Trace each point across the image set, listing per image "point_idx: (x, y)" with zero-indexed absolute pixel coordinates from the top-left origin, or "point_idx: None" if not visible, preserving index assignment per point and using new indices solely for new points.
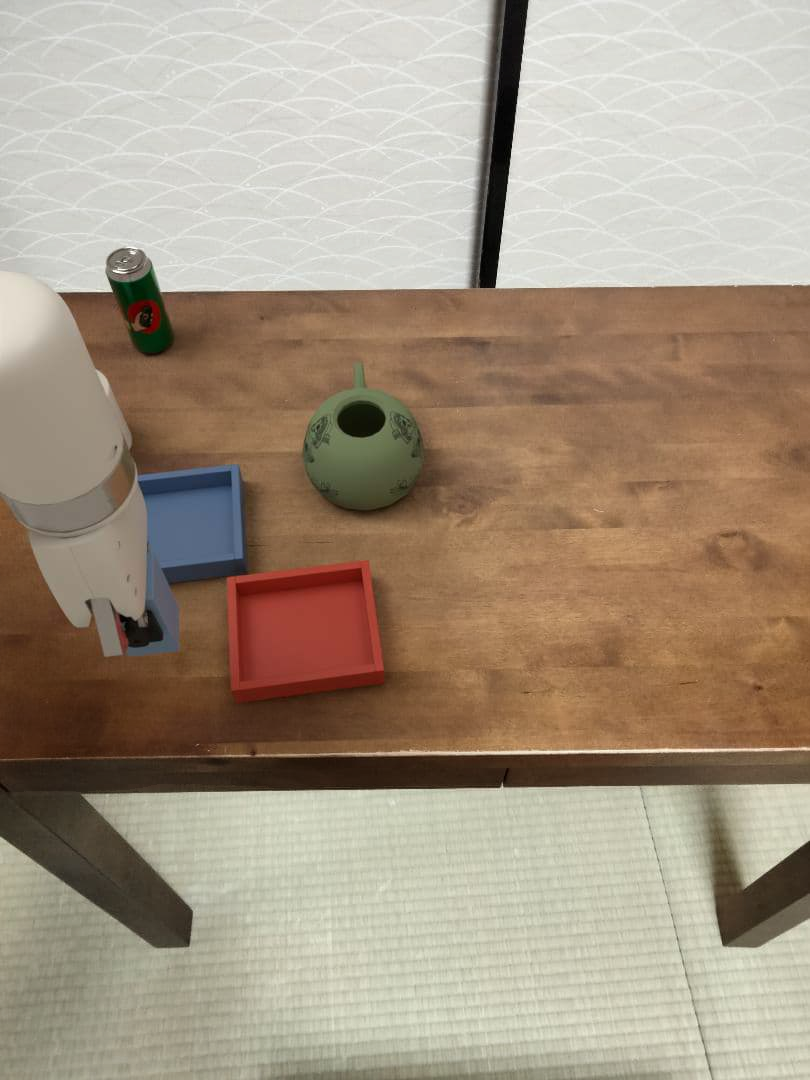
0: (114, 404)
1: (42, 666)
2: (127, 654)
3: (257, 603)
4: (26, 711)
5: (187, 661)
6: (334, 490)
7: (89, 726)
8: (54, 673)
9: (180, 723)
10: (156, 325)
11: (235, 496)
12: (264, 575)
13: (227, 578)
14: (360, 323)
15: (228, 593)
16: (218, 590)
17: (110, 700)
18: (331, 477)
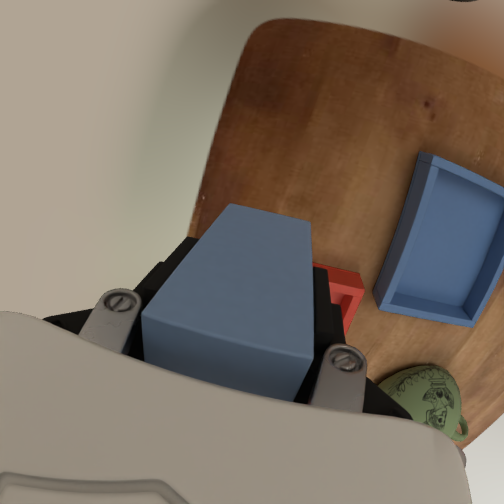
0: None
1: (350, 58)
2: (227, 206)
3: (332, 294)
4: (299, 34)
5: (299, 208)
6: (392, 394)
7: (258, 92)
8: (337, 67)
9: (230, 185)
10: None
11: (446, 318)
12: (347, 323)
13: (363, 290)
14: (501, 402)
15: (344, 286)
16: (368, 260)
17: (282, 118)
18: (399, 404)
